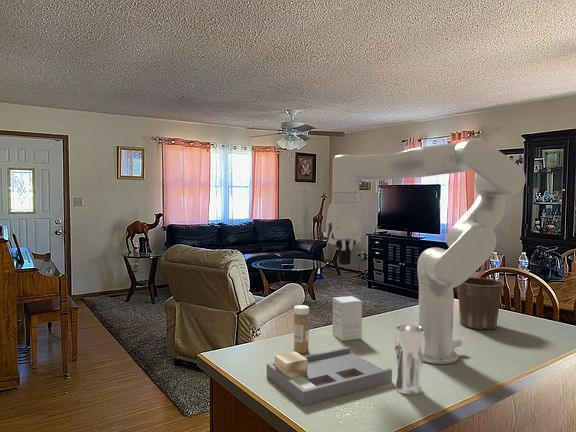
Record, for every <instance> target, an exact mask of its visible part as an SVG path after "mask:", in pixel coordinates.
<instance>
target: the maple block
mask: <svg viewBox="0 0 576 432" xmlns="http://www.w3.org/2000/svg"><path fill="white" fill-rule="evenodd" d="M303 356H304V355H302V354H301V353H297V352H295V351H291V352H285V353H281V354H274V362H275V367H276V368H278V369H279V370H280V371H281V372H283V373H284V374H285V375H287V376H288V377H289V378H291V379H293V378H297V377H301V376H306V375H307V364H308V359H306V358H305V357H303Z"/></svg>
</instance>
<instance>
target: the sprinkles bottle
mask: <svg viewBox="0 0 576 432" xmlns="http://www.w3.org/2000/svg"><path fill="white" fill-rule="evenodd" d="M293 313H294V314H293V315H294V316H293V317H294V319H293V344H294V345H293V347H294V348H293V352H297V353H299V354H306V353H308V352H309V349H310V348H309V340H310V339H309V334H310V333H309V330H310V329H309V328H310V327H309V315H310V306H308V305H305V304H299V305H294V307H293Z"/></svg>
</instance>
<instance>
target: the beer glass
mask: <svg viewBox="0 0 576 432" xmlns="http://www.w3.org/2000/svg"><path fill="white" fill-rule="evenodd" d="M394 333H395V335H394V355H395V362H396V371H397V375H396V376H397V377H396V383H395V390H396V391H397V392H398V393H400V394H402V395H406V396H418V395H420V394H422V391H423V389H422V382H421V372H422V367H423V363H424V361H423V359H424V353H425V336H424V328H422V327H420V326H418V325H417V324H416V325H415V324H407V323H405V324H398V325H396V326H395V332H394Z"/></svg>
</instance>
